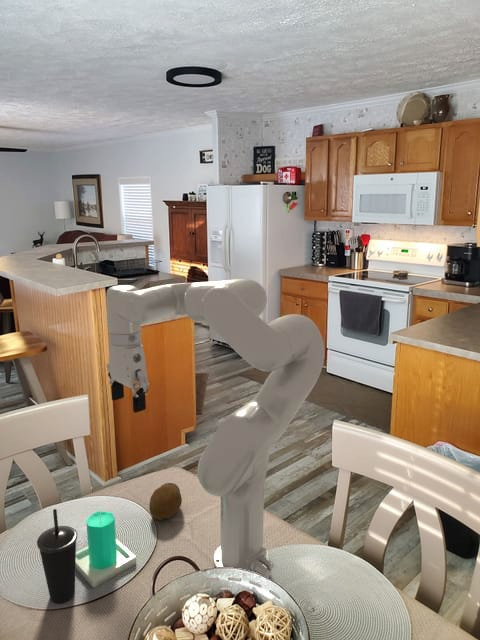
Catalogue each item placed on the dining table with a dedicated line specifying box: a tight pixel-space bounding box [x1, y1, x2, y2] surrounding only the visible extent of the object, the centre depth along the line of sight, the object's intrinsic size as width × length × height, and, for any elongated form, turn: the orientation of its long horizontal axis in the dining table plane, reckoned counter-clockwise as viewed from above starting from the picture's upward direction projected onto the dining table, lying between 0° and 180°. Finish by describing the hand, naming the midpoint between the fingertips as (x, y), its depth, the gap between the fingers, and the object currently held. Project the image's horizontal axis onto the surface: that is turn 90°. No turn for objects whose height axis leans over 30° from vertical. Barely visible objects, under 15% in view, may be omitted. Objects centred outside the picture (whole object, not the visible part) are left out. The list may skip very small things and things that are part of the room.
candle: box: [86, 510, 117, 569], centre depth 113 cm, size 6×6×12 cm
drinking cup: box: [36, 508, 78, 605], centre depth 103 cm, size 8×8×20 cm
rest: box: [75, 538, 137, 589], centre depth 114 cm, size 11×11×2 cm
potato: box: [149, 482, 183, 520], centre depth 131 cm, size 8×12×8 cm, turn 178°
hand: (128, 404), depth 125 cm, fingers open, 9 cm apart
